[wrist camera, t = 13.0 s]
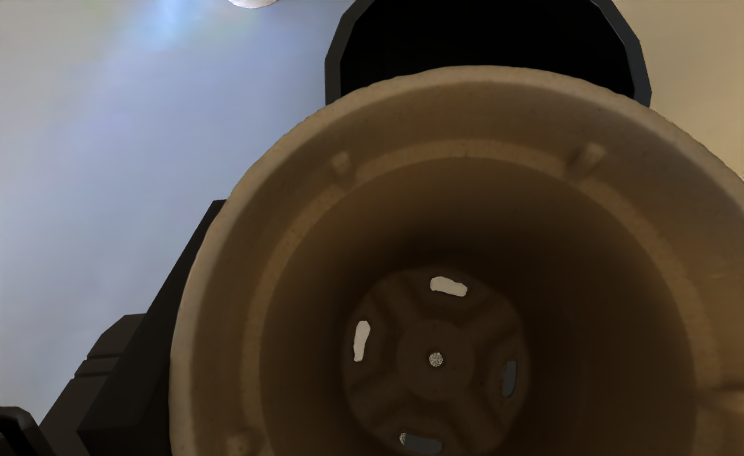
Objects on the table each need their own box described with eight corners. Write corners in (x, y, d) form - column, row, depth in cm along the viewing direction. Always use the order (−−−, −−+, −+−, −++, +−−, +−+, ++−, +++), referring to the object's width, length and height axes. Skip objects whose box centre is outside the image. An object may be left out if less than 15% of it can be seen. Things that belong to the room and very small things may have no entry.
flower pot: (539, 193, 16) (697, 16, 8) (632, 492, 14) (1013, 690, 5) (271, 244, 16) (147, 117, 8) (313, 558, 13) (195, 873, 5)
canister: (314, 240, 33) (278, 177, 22) (381, 52, 37) (379, -81, 26) (537, 306, 31) (621, 275, 20) (580, 102, 35) (671, -18, 24)
